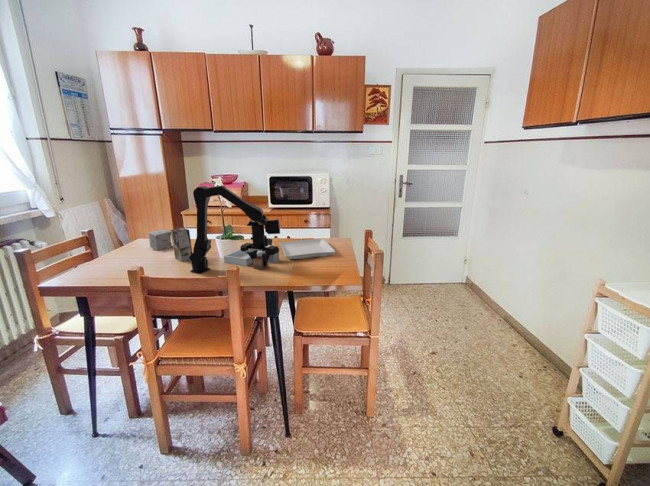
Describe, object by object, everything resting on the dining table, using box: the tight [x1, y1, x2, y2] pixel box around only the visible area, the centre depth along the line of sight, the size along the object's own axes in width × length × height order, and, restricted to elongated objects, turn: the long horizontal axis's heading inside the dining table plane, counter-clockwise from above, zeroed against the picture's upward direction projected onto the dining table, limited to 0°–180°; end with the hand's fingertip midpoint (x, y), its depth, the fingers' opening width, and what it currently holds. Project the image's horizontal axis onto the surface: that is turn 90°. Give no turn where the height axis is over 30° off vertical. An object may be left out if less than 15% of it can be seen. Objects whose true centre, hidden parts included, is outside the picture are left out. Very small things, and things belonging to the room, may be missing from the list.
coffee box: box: [169, 227, 193, 262], centre depth 158 cm, size 9×6×16 cm
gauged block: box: [268, 244, 280, 264], centre depth 152 cm, size 5×5×8 cm
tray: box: [223, 245, 269, 267], centre depth 159 cm, size 22×14×4 cm, turn 156°
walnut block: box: [252, 256, 269, 271], centre depth 144 cm, size 5×5×5 cm
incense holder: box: [148, 228, 173, 251], centre depth 179 cm, size 10×8×10 cm
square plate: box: [278, 238, 337, 260], centre depth 167 cm, size 27×27×4 cm
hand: (260, 265), depth 144 cm, fingers closed on walnut block, 5 cm apart
